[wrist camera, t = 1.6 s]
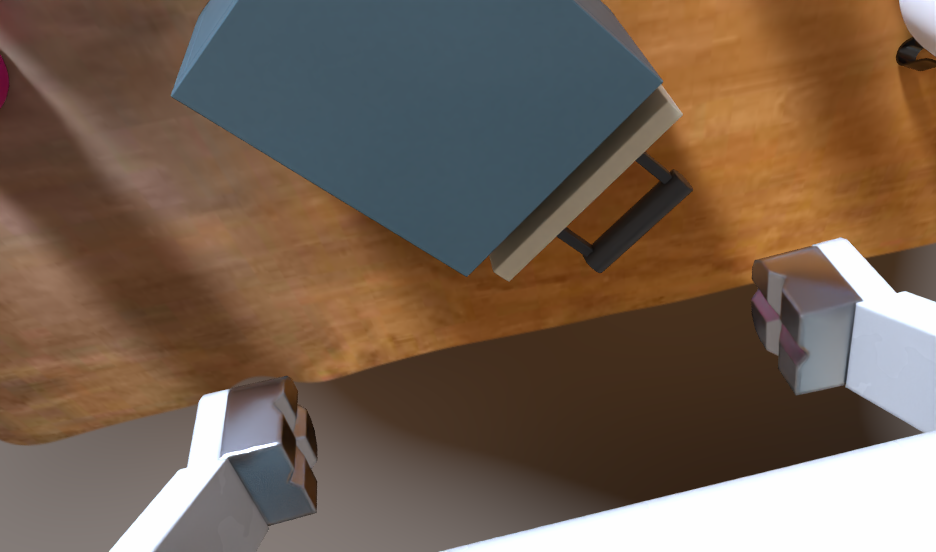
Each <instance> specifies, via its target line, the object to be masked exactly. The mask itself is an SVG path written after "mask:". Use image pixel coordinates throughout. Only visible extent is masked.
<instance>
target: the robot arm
mask: <svg viewBox="0 0 936 552" xmlns="http://www.w3.org/2000/svg"><path fill="white" fill-rule="evenodd" d="M752 280H753V281H754V283H755V284H756V286H757V287H758V291H757V292H756V293H755V295H754V296H753V297H752V317H753V321H754V326H755V329H756V332H757V334H758V336H759V339H760V341H761V342H762V344H763V345H764V347H765V349H766V350H767V351H769V352H771V353H773V354H776V355H778V357H779V358H778V369H779V370H780V372H781V374H782V375H783V377H784V378H785V380H786V381H787V383H788V384H789V386H790V387H791V389H792V390H793V391H794V393H795V395H801V394H805V393H810V392H814V391H818V390H824V389H828V388H833V387H837V386H842V385H846V387H847V388H849V389H850V390H852V391H854V392H855V393H857V394H859V395H860V396H862V397H864V398H865V399H868V400H869V401H871V402H872V403H874V404H876V405H877V406H879V407H881V408H883V409H884V410H886V411H888V412H890V413H891V414H893V415H895V416H896V417H898V418H900V419H901V420H903V421H905V422H907V423H909V424H910V425H912V426H913V427H915V428H917V429H919V430H920V431H922V432H924V433H923V434H919V435H915V436H911V437H907V438H902V439H898V440H894V441H890V442H886V443H882V444H878V445H874V446H870V447H866V448H862V449H857V450H853V451H849V452H845V453H841V454H837V455H833V456H829V457H825V458H821V459H817V460H813V461H809V462H805V463H801V464H797V465H792V466H788V467H784V468H780V469H776V470H772V471H768V472H764V473H759V474H755V475H751V476H747V477H743V478H739V479H735V480H731V481H726V482H722V483H718V484H714V485H711V486H706V487H702V488H698V489H693V490H689V491H685V492H681V493H677V494H673V495H669V496H665V497H660V498H657V499H652V500H648V501H644V502H640V503H636V504H632V505H628V506H623V507H620V508H615V509H611V510H607V511H603V512H599V513H595V514H591V515H587V516H583V517H579V518H575V519H570V520H566V521H562V522H558V523H554V524H550V525H546V526H542V527H538V528H533V529H530V530H525V531H521V532H518V533H513V534H509V535H505V536H501V537H497V538H493V539H489V540H484V541H480V542H477V543H472V544H468V545H464V546H460V547H456V548H452V549H448V550H444V551H440V552H936V302H934V301H931V300H929V299H926V298H923V297H920V296H917V295H914V294H912V293H909V292H906V291H905V292H900V293H896V292H895V291H894V290H893V289H892V288H891V286H890V285H889V284H888V283H887V282H886V281H885V280H884V279H883V278H882V277H881V276H880V275H879V274H878V272H877V271H875V269H874V268H873V267H872V266H871V265H870V264H869V263H868V262H867V261H866V259H865V258H864V257H863V256H862V255H861V254H860V253H859V252H858V251H857V250H856V249H855V248H854V247H853V245H852V244H851V243H850V242H849V241H848V240H847V239H844V238H842V237H841V238H837V239H833V240H829V241H826V242H822V243H818V244H814V245H812V246H809V247H805V248H801V249H797V250H793V251H789V252H785V253H781V254H777V255H773V256H769V257H765V258H761V259H757V260H755V261H754V264H753V266H752ZM297 400H298V390H297V389H296V386H295V385H294V383H293V381H292V379H291V378H290V377H288V376H284V377H279V378H275V379H270V380H266V381H262V382H257V383H252V384H248V385H243V386H239V387H235V388H232V389H228V390H223V391H219V392H214V393H210V394H205V395H203V396H202V398H201V399H200V401H199V404H198V409H197V415H196V421H195V426H194V432H193V437H192V443H191V449H190V454H189V460H188V466H187V468H184V469H181V470H178V472H177V473H176V474H175V475H174V476H173V478H172V479H171V480H170V481H169V482H168V483H167V485H166V486H165V487H164V488H163V489H162V490H161V491H160V493H159V494H158V495H157V496H156V497H155V498H154V500H153V501H152V502H151V503H150V504H149V506H148V507H147V508H146V509H145V510H144V511H143V513H142V514H141V515H140V516H139V517H138V518H137V520H136V521H135V522H134V523H133V524H132V525H131V527H130V528H129V529H128V530H127V531H126V532H125V534H124V535H123V536H122V537H121V538H120V539H119V541H118V542H117V543H116V544H115V545H114V546H113V548H112V549H111V550H110V551H109V552H256V551H257V549H258V547H259V545H260V543H261V542H262V540H263V539H264V537H265V535H266V533H267V532H268V530H269V527H268V526H270V525H274V524H277V523H281V522H285V521H289V520H292V519H296V518H299V517H303V516H307V515H311V514H314V513H316V512H317V511H316V510H317V480H316V478H315V476H314V474H313V472H312V470H311V469H312V467H313V466H314V464H315V463H316V461H317V442H316V436H315V430H314V427H313V424H312V421H311V418H310V416H309V414H308V411H307V409H306V408H304V407H302V406H300V405H298V404H297V402H298V401H297Z"/></svg>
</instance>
